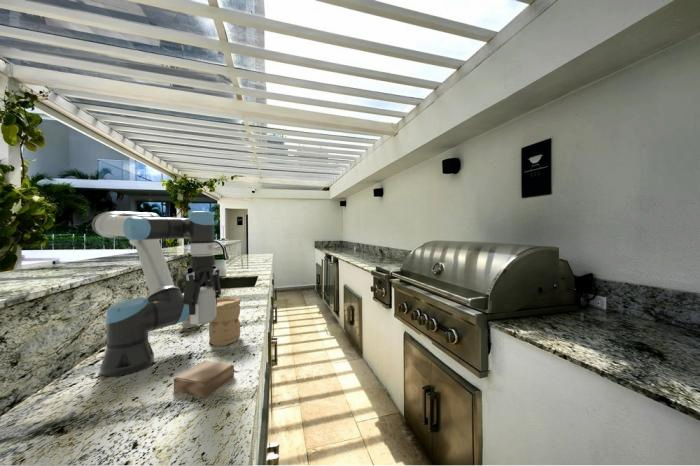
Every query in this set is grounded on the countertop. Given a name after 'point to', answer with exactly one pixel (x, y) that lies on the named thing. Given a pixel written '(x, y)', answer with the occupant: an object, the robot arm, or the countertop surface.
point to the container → (225, 322)
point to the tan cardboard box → (203, 378)
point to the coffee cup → (188, 323)
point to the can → (206, 305)
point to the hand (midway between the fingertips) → (203, 319)
